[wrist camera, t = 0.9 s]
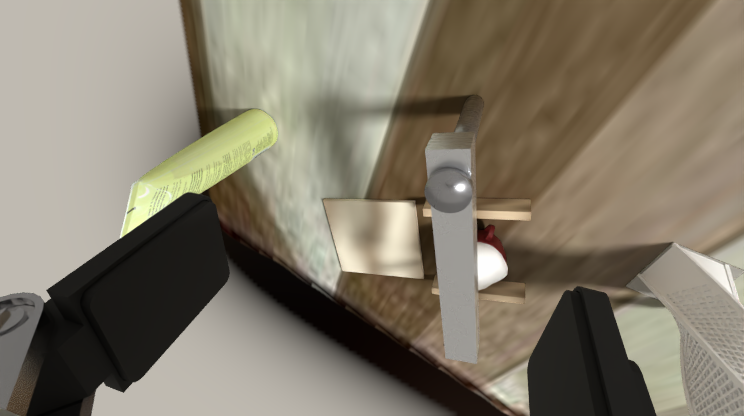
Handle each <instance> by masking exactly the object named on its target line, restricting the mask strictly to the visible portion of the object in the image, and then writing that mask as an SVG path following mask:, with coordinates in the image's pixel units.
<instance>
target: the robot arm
mask: <svg viewBox="0 0 744 416" xmlns="http://www.w3.org/2000/svg"><path fill="white" fill-rule="evenodd" d="M229 274H230V272H229V266H228V261H227V257H226V252H225V248H224V243H223V238H222V233H221V228H220V223H219V219H218V214H217V209H216V206H215V204H214V203H212V200H211V199H210V197H208V196H205V195H200V194H196V193H192V192H187V193H185V194H183V195H182V196H180V197H179V198H177V199H176V200H174V201H173V202H172V203H170V204H169V205H167V206H166V207H164V208H163V209H162V210H160V211H159V212H157V213H156V214H154V215H153V216H152V217H150V218H149V219H147V220H146V221H144V222H143V223H142V224H140V225H139V226H137V227H136V228H134V229H133V230H132V231H130V232H129V233H127V234H126V235H124V236H123V237H122V238H120V239H119V240H117V241H116V242H115V243H113V244H112V245H110V246H109V247H107V248H106V249H105V250H103V251H102V252H100V253H99V254H97V255H96V256H95V257H93V258H92V259H90V260H89V261H87V262H86V263H85V264H83V265H82V266H80V267H79V268H77V269H76V270H75V271H73V272H72V273H70V274H69V275H67V276H66V277H65V278H63V279H62V280H60V281H59V282H58V283H56V284H55V285H53V286H52V287H50V288H49V289H48V290H47V292H48V294H49V295H50V297H51V299H50V300H48V301H47V302H46V303H44V301H43V299H42V298H41V297H40V296H38V295H36V294H34V293H16V294H10V295H7V296H3V297H0V416H91V413H92V408H93V403H94V397H95V392H96V389H97V388H98V386H99V385H100V384H102V383H103V382H104V383H105V385H106V386H108V387H110V388H113V389H116V390H118V391H121V392H123V393H124V392H125V390H126V389H127V388H128V387H129V386H130V385H131V384H132V383H133V382H136V381H138V380H140V379H141V378H142V377H143V376H144V375H145V374H146V373H147V371H148V370H149V369H150V368H151V367H152V366H153V365H154V364H155V362H156V361H157V360H158V359H159V358H160V357H161V356H162V354H163V353H164V352H165V351H166V350H167V349H168V348H169V347H170V345H171V344H172V343H173V342H174V341H175V340H176V339H177V338H178V337H179V335H180V334H181V333H182V332H183V331H184V330H185V329H186V327H187V326H188V325H189V324H190V323H191V322H192V321H193V320H194V318H195V317H196V316H197V315H198V314H199V313H200V312H201V311H202V309H203V308H204V307H205V306H206V305H207V304H208V303H209V302H210V300H211V299H212V298H213V297H214V296H215V295H216V294H217V293H218V291H219V290H220V289H221V288H222V287H223V286H224V285H225V283H226V282H227V280H228V278H229ZM527 374H528V391H529V408H530V416H656V413H655V410H654V407H653V404H652V401H651V398H650V395H649V392H648V389H647V386H646V384H645V381H644V378H643V375H642V372H641V370H640V368H639V366H638V365H637V364H636V363H635V362H634V361H631V360H628V357H627V354H626V351H625V348H624V345H623V342H622V339H621V335H620V332H619V329H618V326H617V323H616V320H615V317H614V314H613V310H612V307H611V304H610V301H609V298H608V296H607V294H606V293H604V292H600V291H596V290H592V289H588V288H583V287H579V286H577V287H576V288H575V289H574V290H573V291H569V290H566V291H565V292H564V294H563V295H562V297H561V299H560V301H559V303H558V305H557V307H556V309H555V311H554V313H553V314H552V316H551V318H550V320H549V322H548V324H547V326H546V328H545V330H544V332H543V334H542V336H541V337H540V339H539V341H538V343H537V345H536V347H535V349H534V351H533V353H532V355H531V357H530V359H529V362H528V369H527Z"/></svg>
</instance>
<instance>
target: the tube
mask: <svg viewBox="0 0 744 416" xmlns="http://www.w3.org/2000/svg"><path fill="white" fill-rule="evenodd" d="M277 136H278V132H277V127H276V124H275V123H274V121H273V119H272V118H271V117H270V116H269V115H268V114H267V113H265V112H263V111H261V110H258V109H251V110H248V111H246V112H244V113H243V114H241V115H239V116H237V117H236V118H234V119H232V120H230V121H229V122H227V123H225V124H224V125H222V126H220V127H218V128H217V129H215V130H213V131H212V132H210V133H208V134H207V135H205V136H204V137H202V138H200V139H199V140H197V141H195V142H194V143H192V144H190V145H189V146H187V147H186V148H184V149H182V150H181V151H179V152H178V153H176V154H175V155H173V156H171V157H170V158H168V159H167V160H165V161H164V162H162V163H161V164H159V165H158V166H157V167H155V168H153V169H152V170H150V171H149V172H148V173H146V174H145V175H143V176H142V177H141V178H140V179H139V180H138V181H136V182H134V183H133V184H132V187H131V191H130V197H129V201H128V205H127V210H126V214H125V218H124V222H123V226H122V230H121V234H120V238H122V237H123V236H124V235H126V234H127V233H129V232H130V231H132V230H133V229H134V228H136V227H137V226H139V225H140V224H142V223H143V222H144V221H146V220H147V219H149V218H150V217H152V216H153V215H154V214H156V213H157V212H159V211H160V210H162V209H163V208H164V207H166V206H167V205H169V204H170V203H172V202H173V201H174V200H176V199H177V198H179V197H180V196H182V195H183V194H185V193H187V192H192V193H196V194H200V193H202V192H203V191H205V190H206V189H208V188H210V187H211V186H213V185H215V184H216V183H218V182H219V181H221V180H222V179H224V178H226V177H227V176H229V175H230V174H232V173H233V172H235V171H236V170H238V169H239V168H241V167H242V166H244V165H245V164H247V163H248V162H250V161H251V160H253V159H254V158H256V157H257V156H258V155H260V154H261V153H263V152H264V151H266V150H267V149H269V148H270V147H271V146H273V145H274V144H275V142H276V140H277Z"/></svg>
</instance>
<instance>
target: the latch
mask: <svg viewBox="0 0 744 416" xmlns="http://www.w3.org/2000/svg"><path fill="white" fill-rule="evenodd" d="M483 107H484V101H483V99H482V98H481V97H480V96H478V95H472V96H469V97H468V98H467V99H466V101H465V103H464V106H463V109H462V112H461V114H460V117H459V120H458V123H457V125H456V128H455V131H454V132H453V133H433V135H432V137H431V139H430V141H429V143H428V145H427V147H426V149H425V154H426V164H427V174H428V181H427V183H426V186H425V197H426V199H427V201H428V203H429V204H430V205H431V214H432V225H433V235H434V245H435V255H436V265H437V275H438V285H439V296H440V306H441V316H442V326H443V336H444V346H445V356H446V358H447V359H452V360H458V361H464V362H469V363H475V364H477V357H478V347H479V299H478V255H477V210H476V166H475V142H476V138H477V133H478V129H479V124H480V120H481V116H482V111H483Z"/></svg>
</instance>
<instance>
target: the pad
mask: <svg viewBox="0 0 744 416" xmlns="http://www.w3.org/2000/svg"><path fill="white" fill-rule="evenodd" d="M323 202H324V206H325V209H326V213H327V217H328V220H329V224H330V228H331V231H332V235H333V239H334V242H335V246H336V249H337V253H338V257H339V260H340V264H341V268H342V271H349V272H359V273H369V274H379V275H389V276H399V277H409V278H419V279H424V269H423V261H422V253H421V245H420V237H419V229H418V221H417V213H416V205H415V201H413V200H371V199H328V198H325V199H324V200H323Z"/></svg>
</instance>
